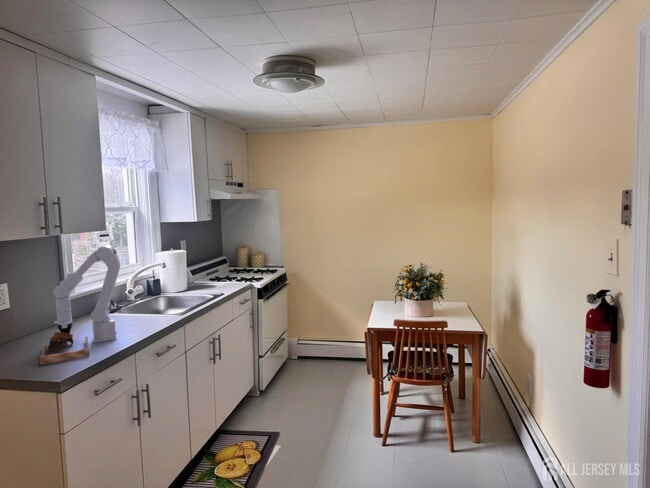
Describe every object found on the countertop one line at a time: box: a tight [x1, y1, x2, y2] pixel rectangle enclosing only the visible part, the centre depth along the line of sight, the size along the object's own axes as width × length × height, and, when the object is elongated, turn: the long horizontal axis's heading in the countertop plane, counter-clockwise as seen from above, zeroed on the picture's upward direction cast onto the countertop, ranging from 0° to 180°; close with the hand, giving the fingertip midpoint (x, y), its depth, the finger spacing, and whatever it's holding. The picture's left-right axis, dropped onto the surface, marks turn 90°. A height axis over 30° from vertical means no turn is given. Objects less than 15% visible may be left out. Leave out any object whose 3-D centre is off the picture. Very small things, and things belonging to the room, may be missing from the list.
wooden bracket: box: [39, 336, 90, 365], centre depth 185 cm, size 17×23×3 cm
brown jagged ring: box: [47, 331, 74, 352], centre depth 190 cm, size 12×10×8 cm
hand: (66, 340), depth 198 cm, fingers closed
